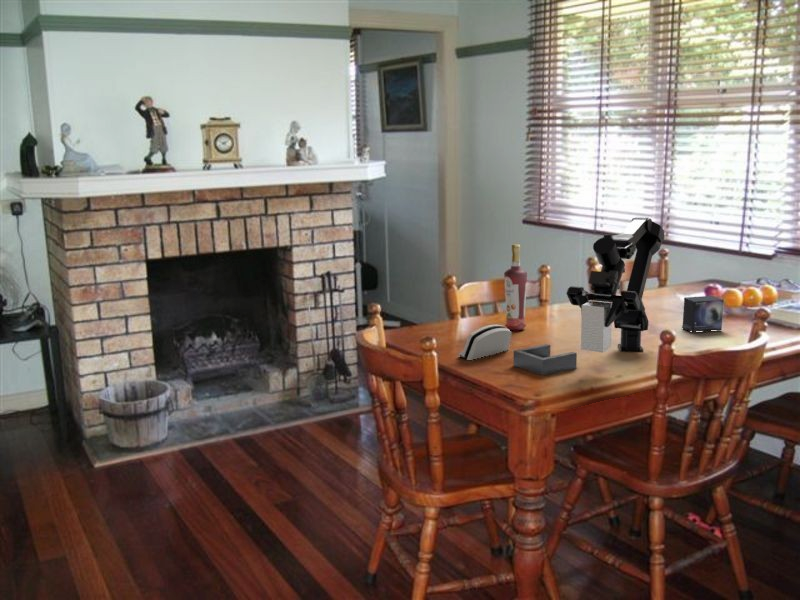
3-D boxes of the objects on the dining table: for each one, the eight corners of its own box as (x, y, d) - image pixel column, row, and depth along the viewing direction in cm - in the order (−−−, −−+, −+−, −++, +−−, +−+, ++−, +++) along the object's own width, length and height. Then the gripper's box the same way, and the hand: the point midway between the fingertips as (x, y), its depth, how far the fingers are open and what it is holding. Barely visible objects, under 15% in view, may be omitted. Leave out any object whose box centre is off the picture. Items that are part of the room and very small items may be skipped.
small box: (692, 333, 253) (694, 301, 251) (681, 329, 259) (682, 297, 257) (722, 331, 255) (724, 298, 253) (710, 326, 261) (712, 295, 259)
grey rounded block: (496, 347, 243) (504, 318, 239) (507, 355, 240) (516, 325, 236) (457, 357, 232) (465, 327, 228) (468, 366, 229) (476, 336, 225)
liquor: (531, 329, 263) (532, 244, 258) (513, 333, 259) (514, 246, 254) (516, 325, 269) (517, 242, 264) (499, 329, 266) (499, 244, 260)
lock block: (589, 344, 217) (590, 299, 215) (610, 347, 214) (612, 301, 211) (580, 349, 212) (581, 303, 210) (602, 352, 209) (604, 306, 206)
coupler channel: (546, 358, 229) (546, 344, 228) (576, 368, 219) (576, 352, 218) (513, 365, 223) (513, 350, 222) (542, 375, 213) (542, 360, 212)
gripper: (569, 256, 217) (552, 304, 210) (638, 261, 206) (623, 311, 200) (580, 280, 225) (564, 327, 218) (646, 286, 214) (632, 335, 208)
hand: (594, 324), depth 211 cm, fingers closed on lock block, 6 cm apart
